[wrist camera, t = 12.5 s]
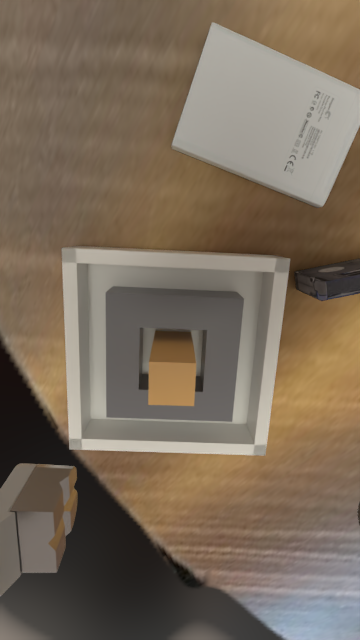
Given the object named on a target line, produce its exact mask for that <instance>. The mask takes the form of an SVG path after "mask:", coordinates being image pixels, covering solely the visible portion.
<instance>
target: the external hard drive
mask: <svg viewBox="0 0 360 640" xmlns="http://www.w3.org/2000/svg"><path fill="white" fill-rule="evenodd" d="M359 126H360V89H357V88H355V87H353V86H351V85H349V84H347V83H345V82H343V81H340V80H338V79H336V78H334V77H332V76H330V75H328V74H326V73H323V72H321V71H319V70H317V69H315V68H312V67H310V66H308V65H306V64H304V63H301V62H299V61H297V60H295V59H293V58H291V57H288V56H286V55H284V54H282V53H280V52H278V51H275V50H273V49H271V48H269V47H267V46H265V45H262V44H260V43H258V42H256V41H254V40H251V39H249V38H247V37H245V36H243V35H240V34H238V33H236V32H233V31H231V30H229V29H227V28H225V27H223V26H220V25H218V24H216V23H213V22H212V24H211V27H210V29H209V33H208V36H207V39H206V42H205V45H204V48H203V51H202V54H201V57H200V60H199V63H198V66H197V69H196V72H195V75H194V78H193V81H192V84H191V87H190V90H189V93H188V96H187V99H186V102H185V105H184V108H183V111H182V114H181V117H180V120H179V123H178V126H177V129H176V132H175V136H174V139H173V142H172V149H174V150H176V151H179V152H181V153H183V154H186V155H188V156H191V157H193V158H196V159H198V160H201V161H203V162H206V163H208V164H211V165H213V166H216V167H218V168H221V169H223V170H225V171H228V172H230V173H233V174H235V175H238V176H240V177H243V178H245V179H248V180H250V181H253V182H255V183H258V184H260V185H263V186H265V187H267V188H270V189H273V190H275V191H277V192H280V193H282V194H285V195H287V196H290V197H292V198H295V199H297V200H300V201H302V202H305V203H307V204H309V205H312V206H314V207H317V208H319V207H323V205H324V204H325V202H326V200H327V198H328V196H329V193H330V191H331V189H332V187H333V184H334V182H335V180H336V177H337V175H338V173H339V171H340V169H341V166H342V164H343V162H344V160H345V157H346V155H347V153H348V151H349V149H350V146H351V144H352V142H353V140H354V137H355V135H356V133H357V131H358V129H359Z"/></svg>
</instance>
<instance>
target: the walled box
mask: <svg viewBox="0 0 360 640" xmlns="http://www.w3.org/2000/svg"><path fill="white" fill-rule="evenodd" d="M289 266H290V259H289V258H285V257H280V256H275V255H259V254H238V253H218V252H197V251H176V250H155V249H135V248H114V247H93V246H72V247H63V248H62V270H63V296H64V322H65V348H66V374H67V399H68V425H69V449H75V450H107V451H139V452H170V453H202V454H234V455H265V453H266V445H267V438H268V430H269V422H270V414H271V406H272V399H273V391H274V383H275V375H276V367H277V360H278V352H279V344H280V336H281V328H282V321H283V313H284V305H285V297H286V289H287V282H288V274H289ZM155 331H179V332H191V334H192V340H193V346H194V352H195V358H196V381H195V399H194V406H172V405H148V390H149V359H150V354H151V349H152V344H153V339H154V334H155Z"/></svg>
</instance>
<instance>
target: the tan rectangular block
mask: <svg viewBox="0 0 360 640" xmlns="http://www.w3.org/2000/svg"><path fill="white" fill-rule="evenodd" d="M195 381H196V358H195V352H194V346H193V340H192V334H191V332H179V331H155V334H154V339H153V344H152V349H151V354H150V359H149V390H148V405H172V406H194V399H195Z"/></svg>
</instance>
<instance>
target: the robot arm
mask: <svg viewBox="0 0 360 640" xmlns="http://www.w3.org/2000/svg"><path fill="white" fill-rule="evenodd" d="M76 479H77V475H76V468H75V467H74V466H60V465H43V464H38V465H36V464H19V465H17V466H16V467H15V468H14V470H13V471H12V473H11V474H10V476H9V477H8V479H7V480H6V482H5V483H4V485H3V486H2V488H1V489H0V596H1V595H2V594H3V593H4V592H5V591H6V590H7V589H8V588H9V587H10V586H11V585H12V584H13V583H14V582H15V581H16V580H17V579H18V578H19V576H21V573H56V572H57V570H58V568H59V565H60V562H61V558H62V556H63V553H64V550H65V547H66V545H65V536H66V535H67V534H68V533H69V532H71V530H72V526H73V523H74V520H75V515H76V509H77V491H76V490H75V489H74V488H73V487H74V484H75V482H76ZM357 513H358V521H359V525H360V502H359V506H358V511H357Z"/></svg>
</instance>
